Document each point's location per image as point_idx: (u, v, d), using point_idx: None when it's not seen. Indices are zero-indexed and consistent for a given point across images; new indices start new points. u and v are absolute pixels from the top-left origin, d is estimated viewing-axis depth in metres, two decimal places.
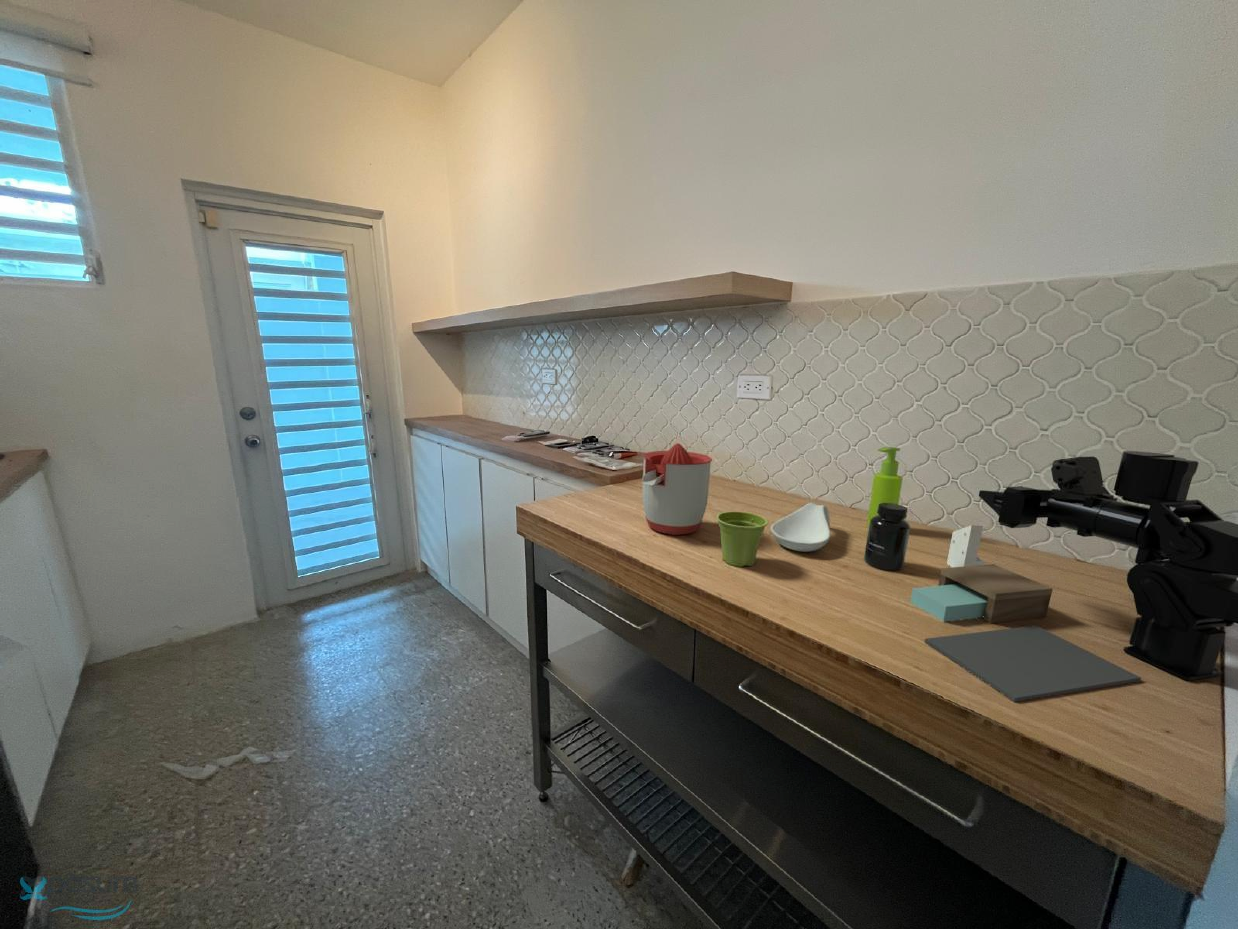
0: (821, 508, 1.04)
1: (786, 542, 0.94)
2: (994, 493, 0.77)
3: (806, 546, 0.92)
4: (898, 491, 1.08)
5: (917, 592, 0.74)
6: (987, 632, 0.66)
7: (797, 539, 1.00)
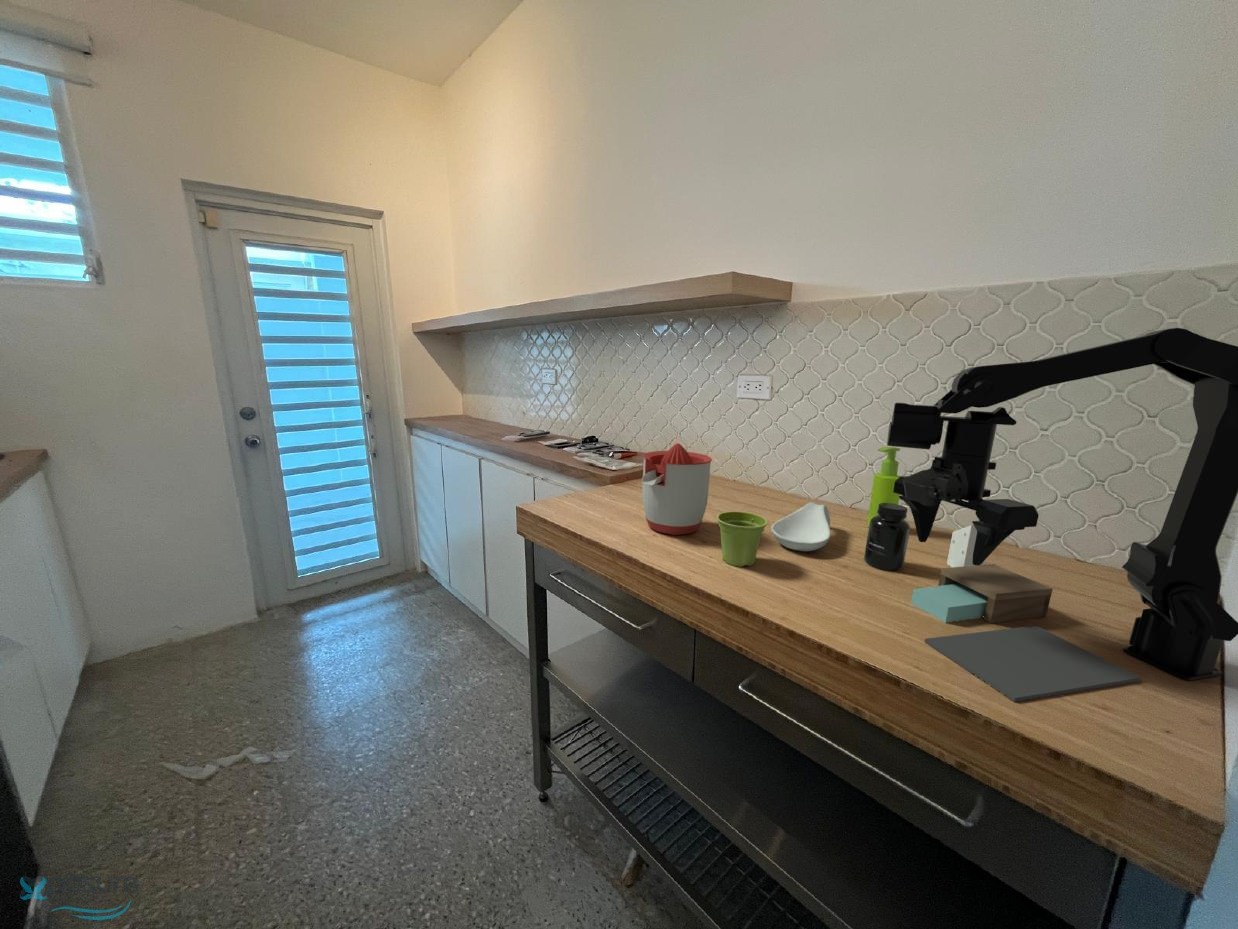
0: (821, 508, 1.04)
1: (786, 542, 0.94)
2: (982, 547, 0.65)
3: (806, 546, 0.93)
4: None
5: (918, 593, 0.74)
6: (987, 632, 0.66)
7: (797, 539, 1.01)
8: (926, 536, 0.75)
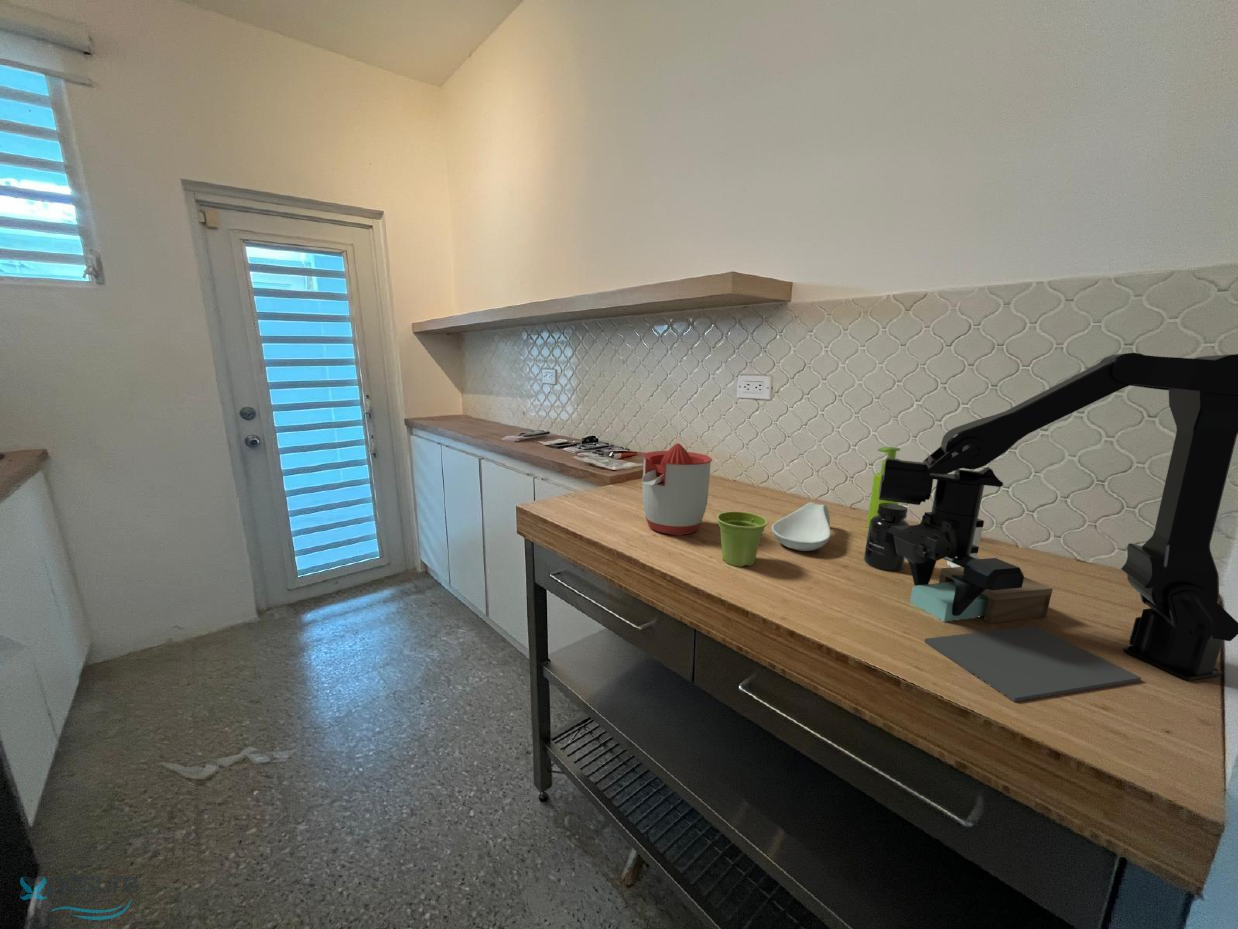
0: (821, 507, 1.04)
1: (787, 541, 0.95)
2: (961, 599, 0.68)
3: (807, 545, 0.93)
4: None
5: (917, 590, 0.74)
6: (987, 632, 0.66)
7: (798, 538, 1.01)
8: None
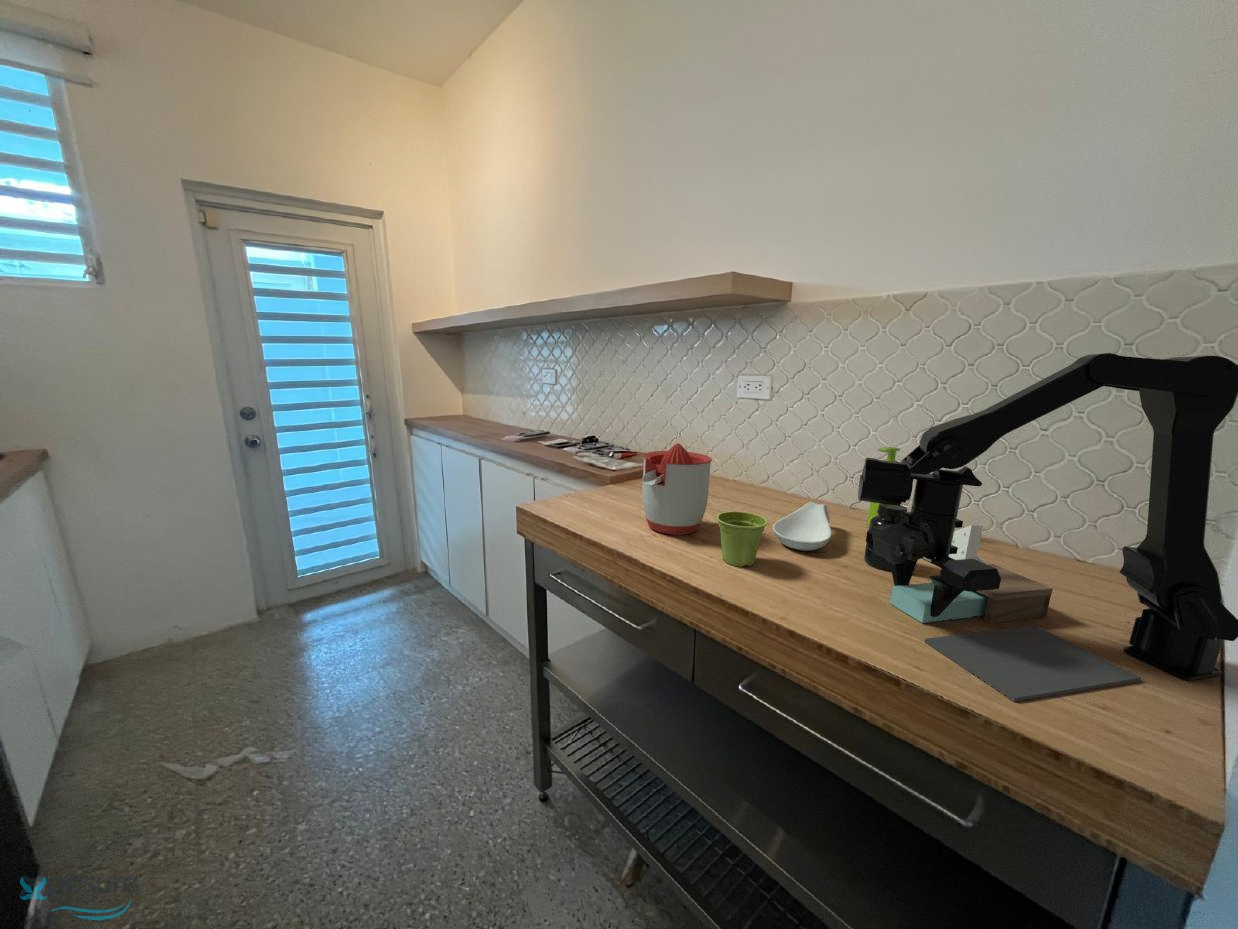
0: (821, 507, 1.05)
1: (788, 541, 0.95)
2: (939, 600, 0.67)
3: (808, 545, 0.93)
4: None
5: (897, 590, 0.73)
6: (987, 632, 0.66)
7: (798, 538, 1.01)
8: None
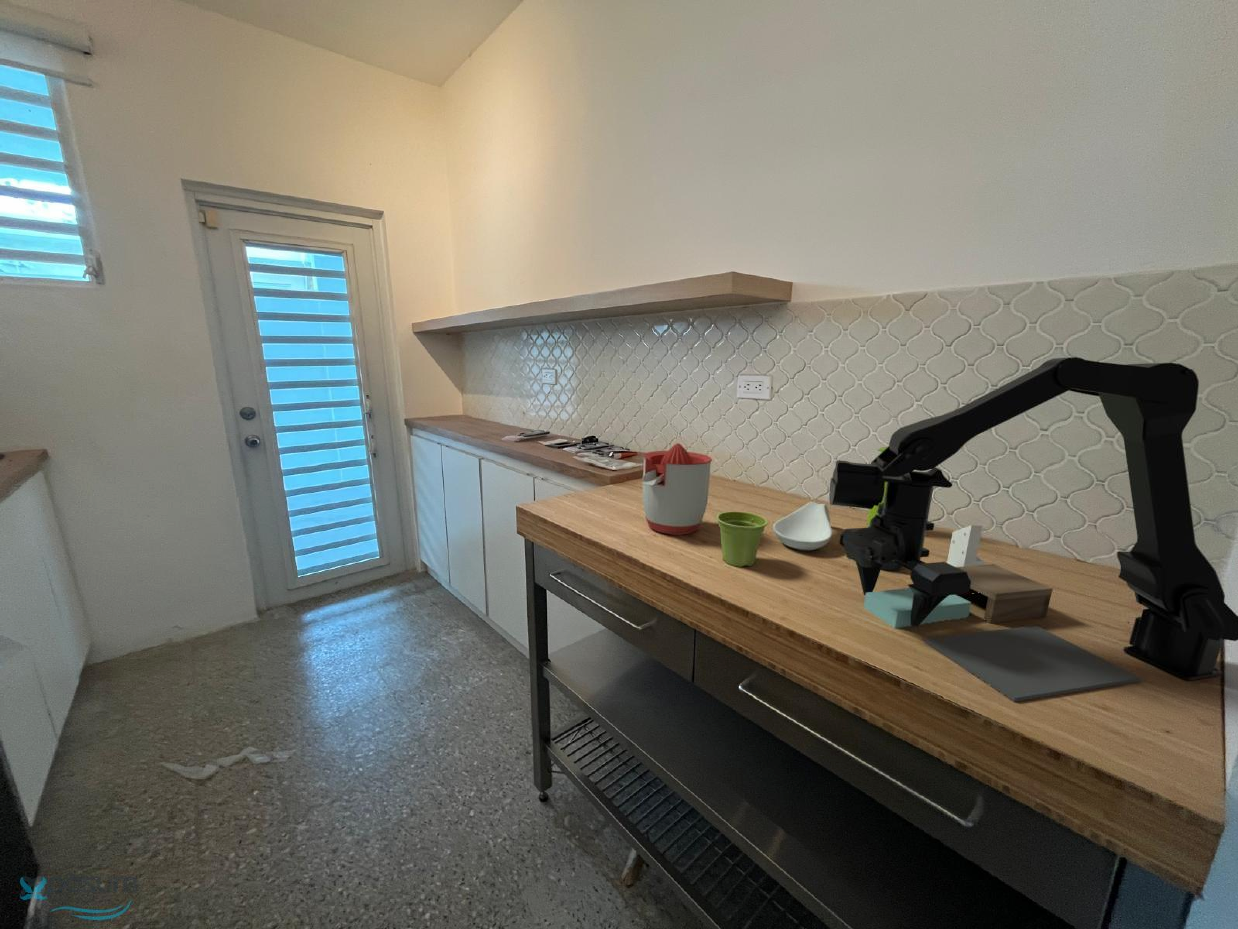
0: (822, 507, 1.05)
1: (789, 541, 0.95)
2: (919, 609, 0.65)
3: (809, 544, 0.93)
4: None
5: (870, 597, 0.72)
6: (987, 632, 0.66)
7: (799, 538, 1.01)
8: (871, 590, 0.75)
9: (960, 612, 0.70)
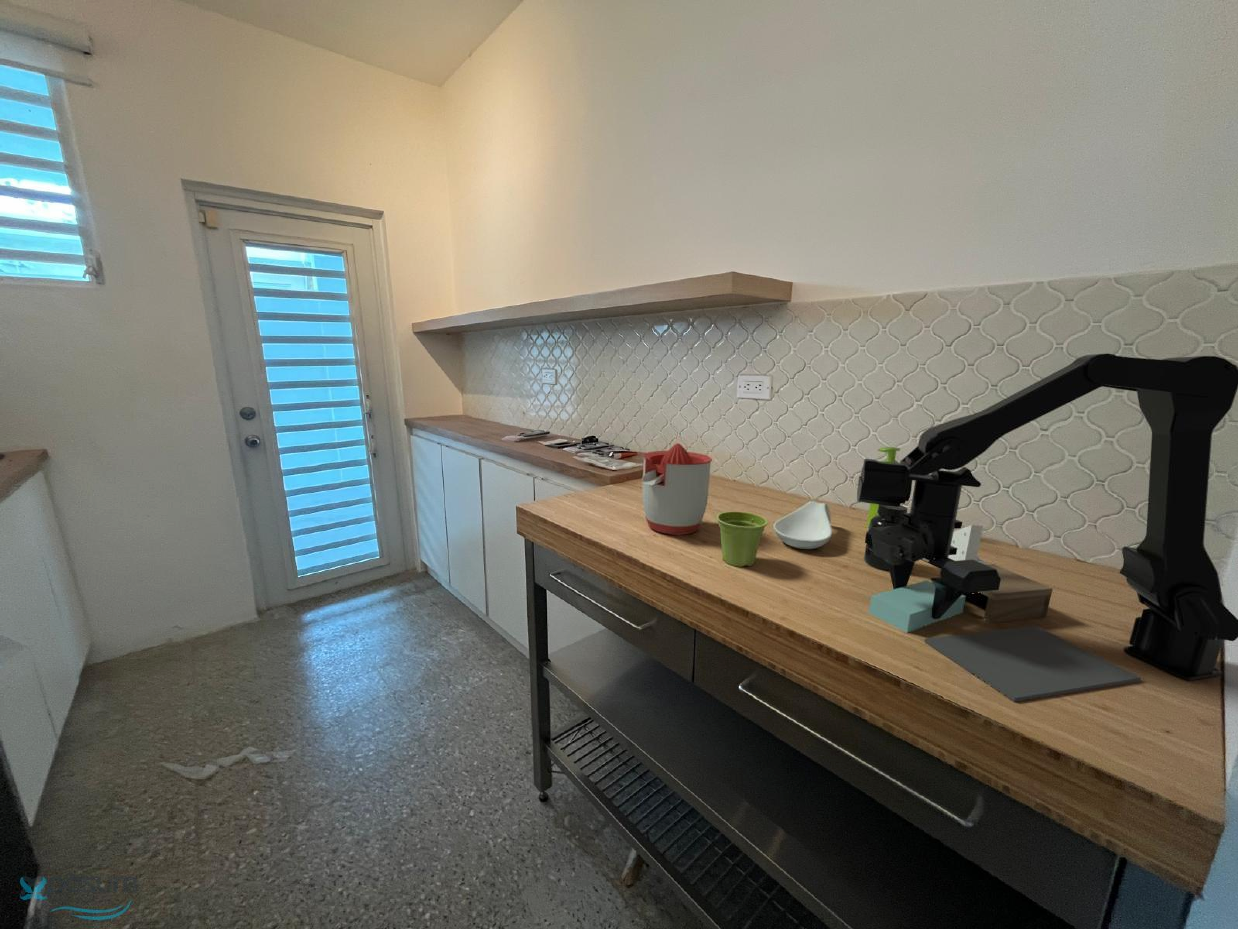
0: (822, 506, 1.05)
1: (789, 540, 0.96)
2: (940, 602, 0.67)
3: (809, 543, 0.94)
4: None
5: (877, 600, 0.70)
6: (987, 632, 0.66)
7: (799, 537, 1.02)
8: None
9: (957, 607, 0.71)
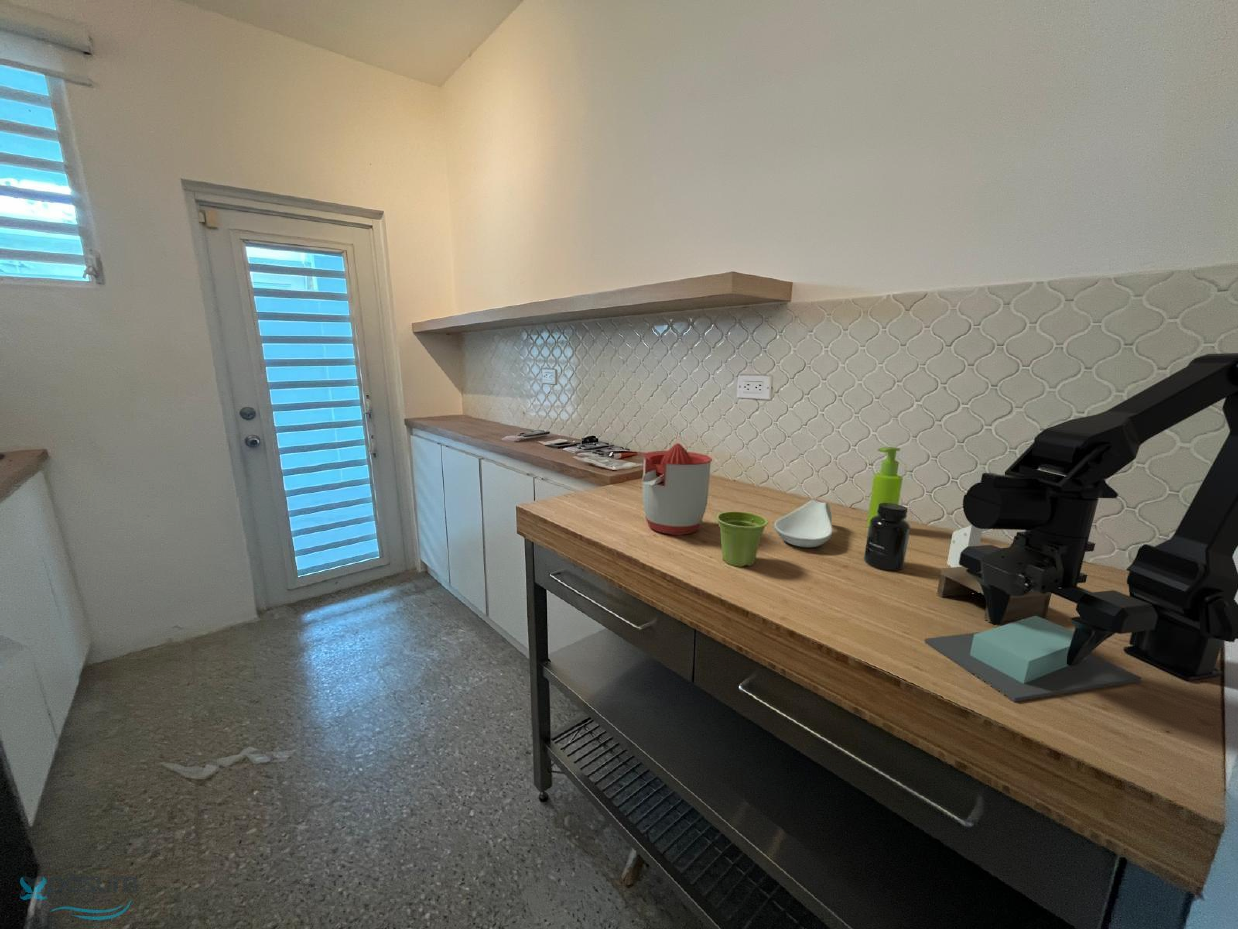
0: (823, 505, 1.06)
1: (789, 538, 0.96)
2: (1081, 647, 0.54)
3: (809, 542, 0.95)
4: (898, 491, 1.08)
5: (981, 640, 0.59)
6: None
7: (800, 535, 1.03)
8: (1000, 618, 0.64)
9: None
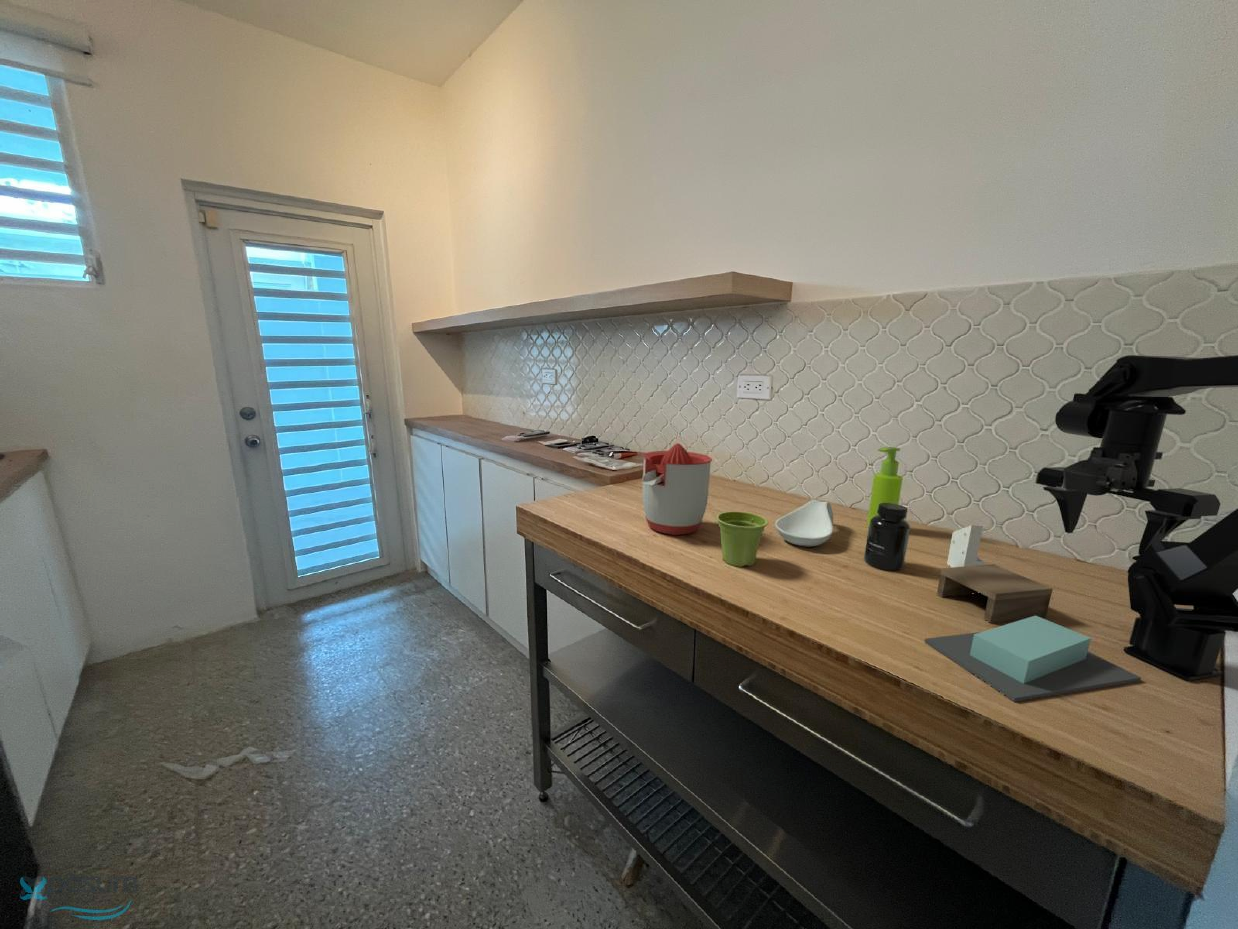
0: (824, 504, 1.07)
1: (790, 537, 0.97)
2: (1153, 536, 0.65)
3: (809, 541, 0.95)
4: (898, 491, 1.08)
5: (981, 640, 0.59)
6: None
7: (801, 534, 1.03)
8: (1073, 527, 0.75)
9: (1080, 651, 0.59)
